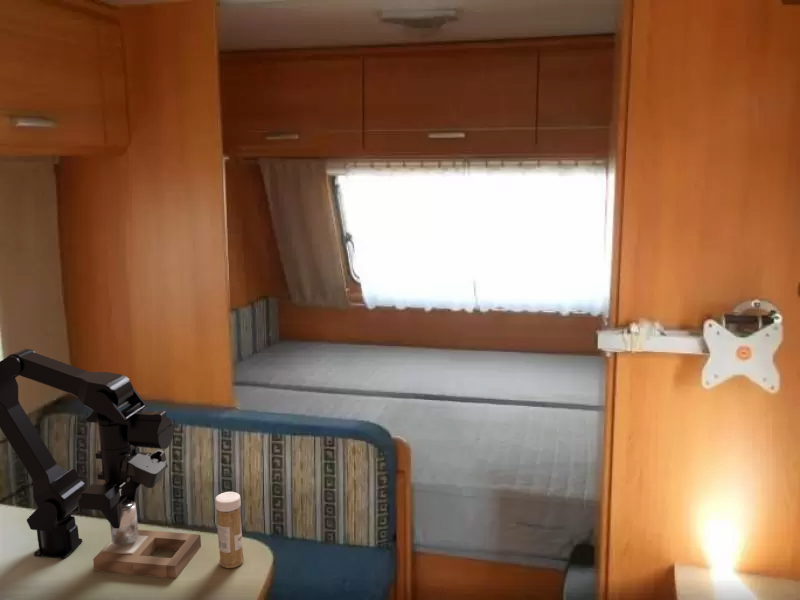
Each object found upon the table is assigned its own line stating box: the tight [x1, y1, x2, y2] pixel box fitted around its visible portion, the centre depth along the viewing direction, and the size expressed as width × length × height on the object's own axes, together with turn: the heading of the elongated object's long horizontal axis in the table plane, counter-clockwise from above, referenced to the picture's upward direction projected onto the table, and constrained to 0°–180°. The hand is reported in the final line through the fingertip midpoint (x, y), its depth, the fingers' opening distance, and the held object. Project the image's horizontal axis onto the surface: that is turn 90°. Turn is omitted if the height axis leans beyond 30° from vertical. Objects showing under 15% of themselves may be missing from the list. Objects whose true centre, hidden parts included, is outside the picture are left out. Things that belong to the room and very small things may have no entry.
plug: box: [109, 499, 139, 545], centre depth 144 cm, size 5×5×7 cm
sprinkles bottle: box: [214, 491, 245, 569], centre depth 142 cm, size 5×5×13 cm
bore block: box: [92, 529, 202, 579], centre depth 144 cm, size 16×11×3 cm
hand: (123, 521), depth 144 cm, fingers closed on plug, 5 cm apart
